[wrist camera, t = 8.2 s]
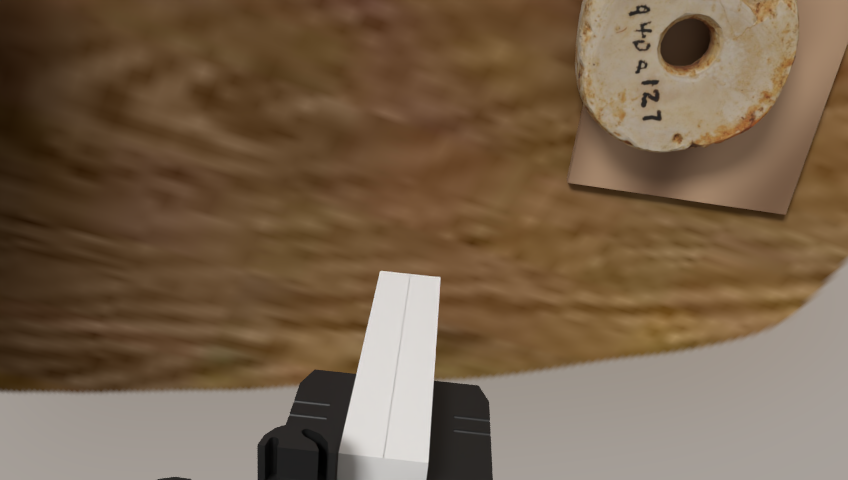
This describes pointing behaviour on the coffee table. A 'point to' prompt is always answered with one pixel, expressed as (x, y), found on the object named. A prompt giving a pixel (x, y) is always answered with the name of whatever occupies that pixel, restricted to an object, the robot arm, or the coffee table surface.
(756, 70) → the stone disc
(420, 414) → the robot arm
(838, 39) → the walnut board
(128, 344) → the coffee table surface
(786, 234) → the coffee table surface
